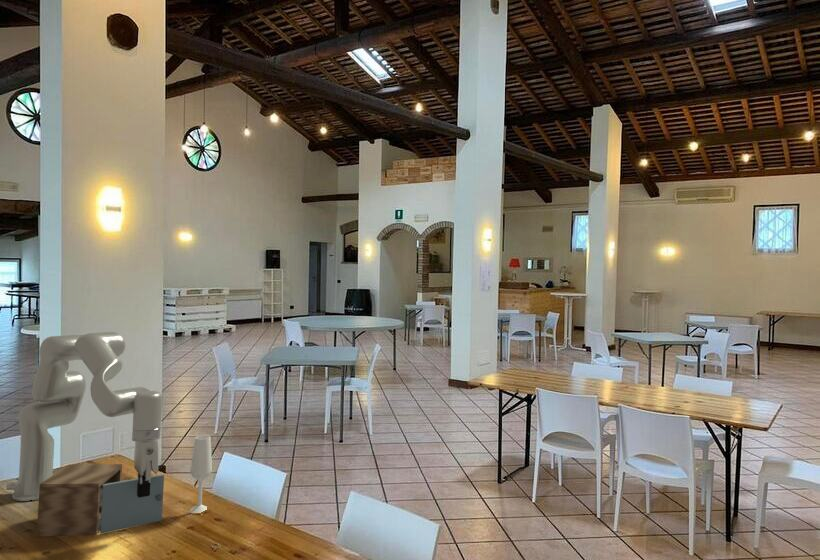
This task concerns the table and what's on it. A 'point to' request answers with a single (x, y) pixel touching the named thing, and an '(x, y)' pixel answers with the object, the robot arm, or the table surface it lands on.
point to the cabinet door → (130, 504)
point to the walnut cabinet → (74, 499)
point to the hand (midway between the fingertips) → (143, 495)
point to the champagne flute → (201, 466)
